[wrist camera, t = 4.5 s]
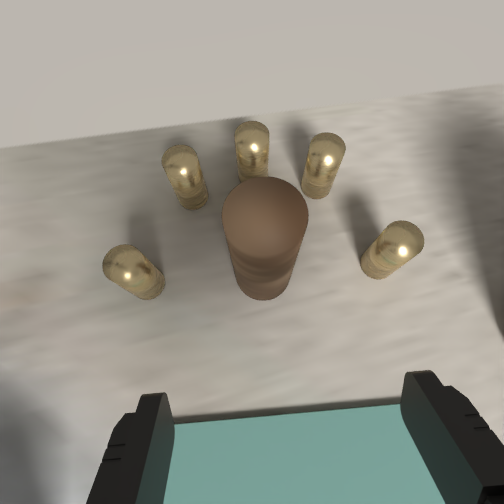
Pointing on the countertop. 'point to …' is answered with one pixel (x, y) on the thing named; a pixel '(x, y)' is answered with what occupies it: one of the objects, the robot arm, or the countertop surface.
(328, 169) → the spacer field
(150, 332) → the countertop surface
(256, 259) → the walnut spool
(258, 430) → the teal mat
